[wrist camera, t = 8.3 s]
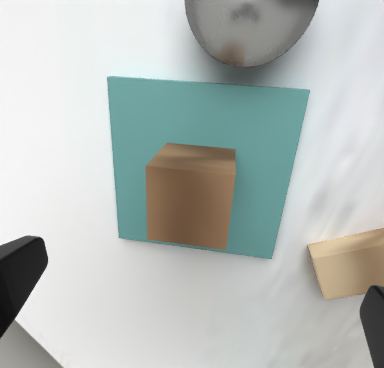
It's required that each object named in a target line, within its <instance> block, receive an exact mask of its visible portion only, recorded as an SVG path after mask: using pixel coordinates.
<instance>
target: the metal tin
mask: <svg viewBox="0 0 384 368" xmlns="http://www.w3.org/2000/svg"><path fill="white" fill-rule="evenodd" d="M318 2H319V0H185V9H186V14H187V18H188V22H189V25H190V27H191V30H192V32H193V34H194V36H195V38H196V39H197V41H198V42H199V44H200V45H201V46H202V47H203V48H204V49H205V50H206V52H208V53H209V54H210V55H211V56H213V57H214V58H216V59H217V60H219V61H221V62H223V63H226V64H229V65H232V66H238V67H252V66H258V65H261V64H265V63H268V62H270V61H272V60H274V59H276V58H278V57H279V56H281V55H283V54H284V53H285V52H286V51H288V50H289V49H290V48H291V47H292V46H293V45H294V44H295V43H296V42H297V41H298V40H299V39H300V37H301V36H302V35H303V34H304V32H305V30H306V29H307V27H308V26H309V24H310V22H311V20H312V18H313V16H314V14H315V11H316V8H317V6H318Z"/></svg>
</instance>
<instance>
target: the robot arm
mask: <svg viewBox="0 0 384 368" xmlns="http://www.w3.org/2000/svg"><path fill="white" fill-rule="evenodd" d="M47 264H48V256H47V252H46V247H45V243H44V240H43V239H42V238H41V237H37V236H24V237H22V238H19V239H16V240H14V241H11V242H8V243H6V244H3V245H1V246H0V338H1V337H2V336H3V334H4V333H5V332H6V330H7V329H8V327H9V326H10V325H11V323H12V322H13V321H14V319H15V318H16V316H17V315H18V313H19V312H20V310H21V308H22V307H23V305H24V304H25V302H26V300H27V299H28V297H29V295H30V294H31V292H32V290H33V289H34V287H35V285H36V284H37V282H38V280H39V279H40V277H41V275H42V274H43V272H44V270H45V269H46V267H47ZM360 318H361V322H362V325H363V329H364V333H365V336H366V340H367V343H368V347H369V351H370V354H371V358H372V362H373V365H374V368H384V286H381V285H371V286H370V287H369V288H368V290H367V293H366V295H365V297H364V300H363V302H362V304H361V307H360Z"/></svg>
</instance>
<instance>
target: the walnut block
mask: <svg viewBox="0 0 384 368" xmlns="http://www.w3.org/2000/svg"><path fill="white" fill-rule="evenodd" d="M235 176H236V167H235V149H231V148H220V147H209V146H198V145H187V144H175V143H166V144H165V145H164V146H163V147H162V148H161V149H160V150H159V152H158V153H157V154H156V155H155V156H154V157H153V158H152V159H151V160H150V162H149V163H148V164H147V165H146V206H147V240H154V241H162V242H169V243H177V244H185V245H192V246H200V247H207V248H215V249H222V250H226V246H227V238H228V231H229V223H230V215H231V207H232V199H233V191H234V184H235Z"/></svg>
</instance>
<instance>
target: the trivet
mask: <svg viewBox="0 0 384 368" xmlns="http://www.w3.org/2000/svg"><path fill="white" fill-rule="evenodd" d="M107 82H108V95H109V109H110V122H111V136H112V150H113V163H114V177H115V190H116V204H117V217H118V231H119V238H123V239H130V240H138V241H145V242H152V243H160V244H167V245H174V246H181V247H189V248H196V249H203V250H210V251H218V252H225V253H232V254H239V255H247V256H254V257H261V258H268V259H272V256H273V251H274V247H275V242H276V238H277V234H278V229H279V225H280V220H281V216H282V212H283V207H284V203H285V198H286V194H287V190H288V185H289V181H290V176H291V172H292V167H293V163H294V159H295V154H296V150H297V145H298V141H299V137H300V132H301V128H302V123H303V119H304V114H305V110H306V106H307V101H308V97H309V92H310V90H307V89H295V88H280V87H265V86H250V85H235V84H220V83H204V82H189V81H174V80H159V79H144V78H129V77H114V76H111V77H107ZM166 143H175V144H187V145H198V146H209V147H220V148H231V149H235V167H236V176H235V184H234V191H233V199H232V207H231V215H230V223H229V231H228V238H227V246H226V250H222V249H215V248H207V247H200V246H192V245H185V244H177V243H169V242H162V241H154V240H147V206H146V165H147V164H148V163H149V162H150V160H151V159H152V158H153V157H154V156H155V155H156V154H157V153H158V152H159V150H160V149H161V148H162V147H163V146H164V145H165V144H166Z"/></svg>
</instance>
